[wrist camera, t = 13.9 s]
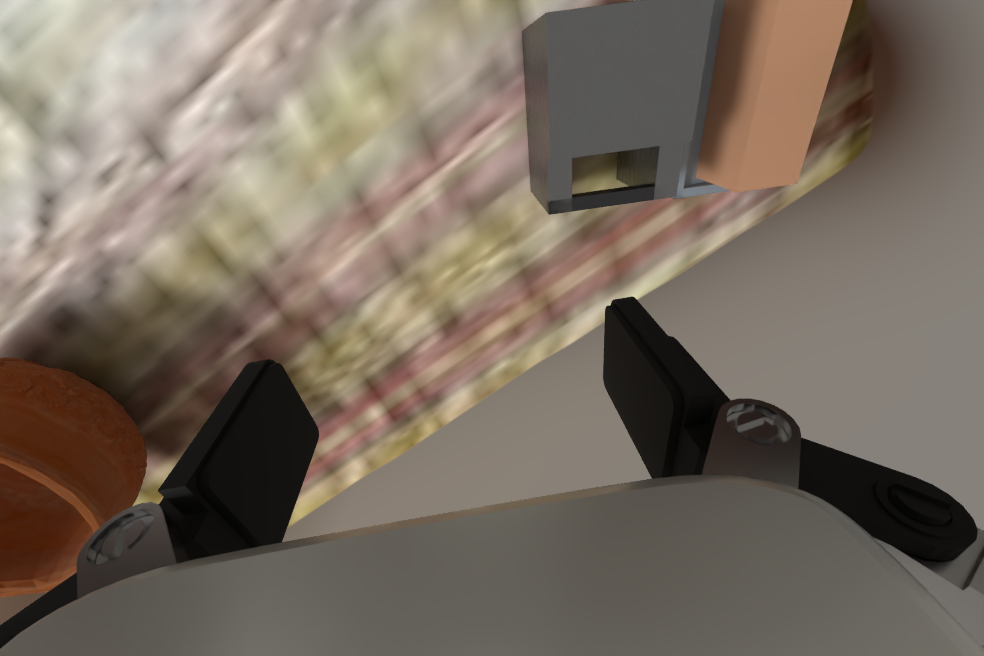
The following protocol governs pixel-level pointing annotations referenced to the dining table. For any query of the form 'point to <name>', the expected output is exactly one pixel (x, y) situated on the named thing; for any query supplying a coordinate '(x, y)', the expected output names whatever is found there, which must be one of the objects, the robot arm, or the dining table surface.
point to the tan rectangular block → (768, 89)
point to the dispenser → (613, 96)
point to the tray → (701, 119)
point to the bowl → (59, 471)
